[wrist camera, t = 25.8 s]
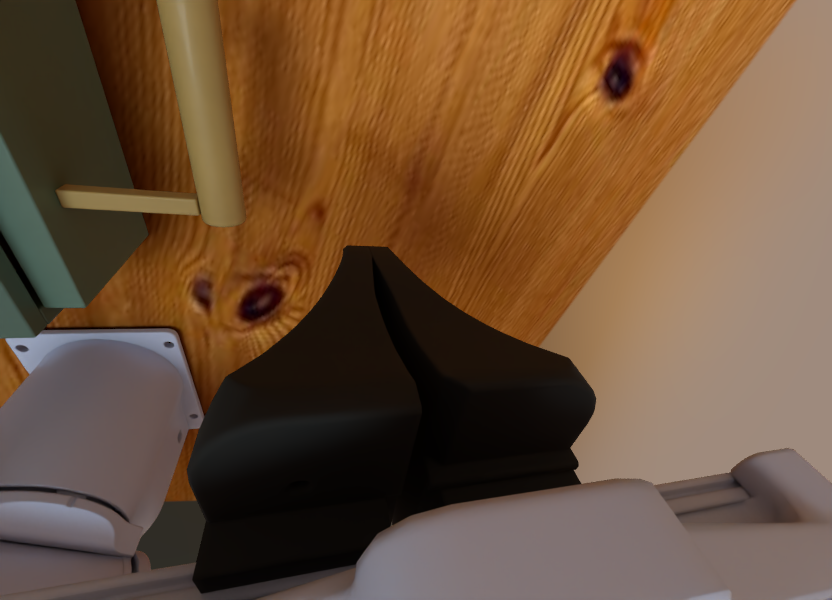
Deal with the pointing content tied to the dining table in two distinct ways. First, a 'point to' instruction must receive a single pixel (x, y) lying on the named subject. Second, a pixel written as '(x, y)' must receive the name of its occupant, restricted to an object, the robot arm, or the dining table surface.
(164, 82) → the dining table surface
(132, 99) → the dining table surface
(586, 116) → the dining table surface
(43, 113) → the drawer
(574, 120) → the dining table surface
